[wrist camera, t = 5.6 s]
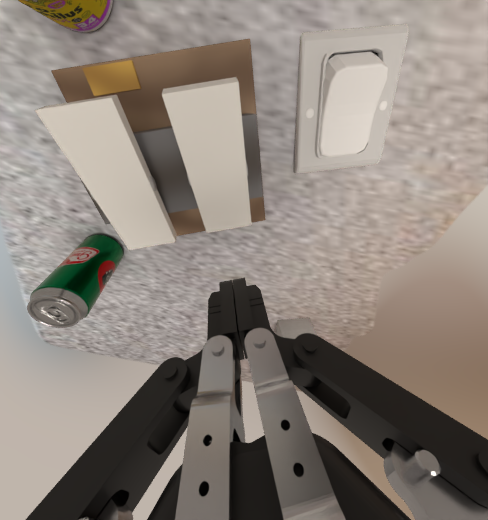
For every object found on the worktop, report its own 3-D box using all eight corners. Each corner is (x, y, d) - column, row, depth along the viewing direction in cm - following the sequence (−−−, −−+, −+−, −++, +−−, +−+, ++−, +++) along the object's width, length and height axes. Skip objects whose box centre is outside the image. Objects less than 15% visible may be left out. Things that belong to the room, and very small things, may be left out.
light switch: (434, 8, 19) (393, 167, 25) (399, 28, 22) (371, 163, 29) (311, 18, 18) (303, 178, 25) (295, 36, 22) (292, 172, 28)
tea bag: (277, 320, 44) (292, 367, 36) (309, 317, 45) (330, 363, 37) (275, 331, 46) (289, 378, 38) (305, 329, 47) (325, 374, 39)
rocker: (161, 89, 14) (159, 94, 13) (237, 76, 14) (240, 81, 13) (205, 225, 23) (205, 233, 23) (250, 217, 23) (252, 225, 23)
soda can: (107, 227, 29) (53, 286, 19) (132, 255, 32) (96, 320, 22) (75, 240, 29) (7, 305, 20) (102, 267, 32) (54, 336, 22)
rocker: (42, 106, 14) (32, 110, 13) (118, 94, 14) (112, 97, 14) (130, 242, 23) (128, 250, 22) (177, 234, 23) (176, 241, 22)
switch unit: (57, 72, 20) (-5, 56, 14) (248, 41, 20) (262, 14, 15) (138, 239, 30) (121, 269, 25) (263, 217, 31) (275, 241, 25)
